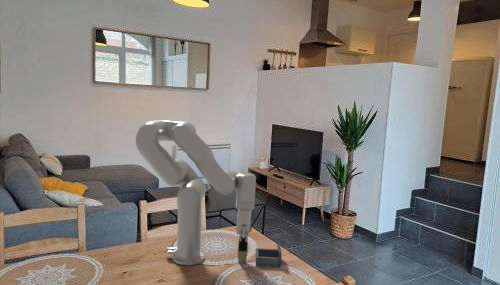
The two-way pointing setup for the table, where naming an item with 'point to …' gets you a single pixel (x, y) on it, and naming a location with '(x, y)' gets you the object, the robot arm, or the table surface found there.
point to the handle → (243, 254)
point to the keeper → (268, 257)
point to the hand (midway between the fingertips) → (242, 247)
